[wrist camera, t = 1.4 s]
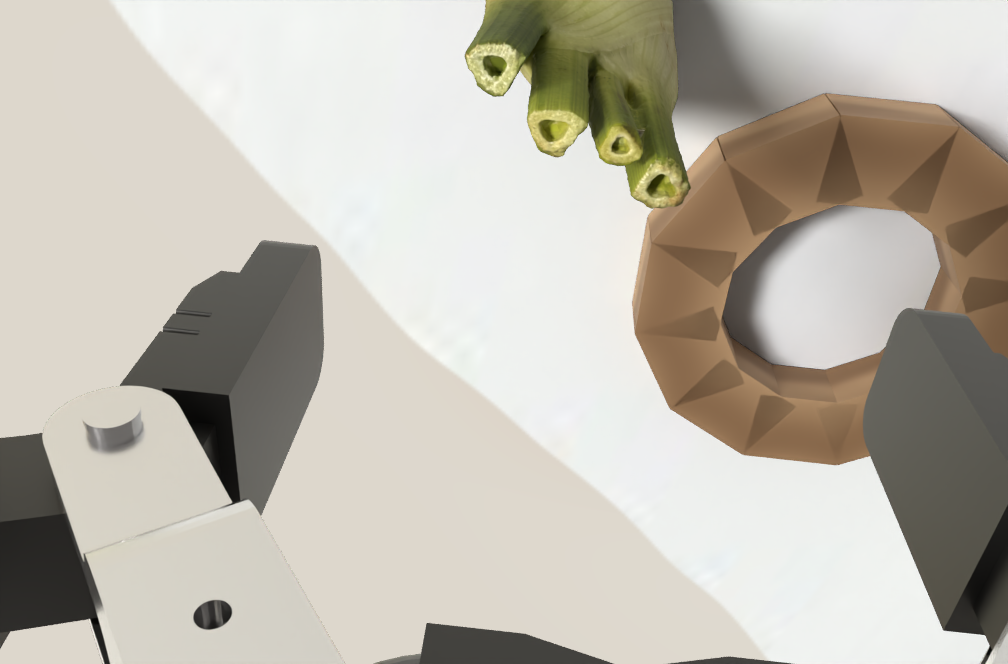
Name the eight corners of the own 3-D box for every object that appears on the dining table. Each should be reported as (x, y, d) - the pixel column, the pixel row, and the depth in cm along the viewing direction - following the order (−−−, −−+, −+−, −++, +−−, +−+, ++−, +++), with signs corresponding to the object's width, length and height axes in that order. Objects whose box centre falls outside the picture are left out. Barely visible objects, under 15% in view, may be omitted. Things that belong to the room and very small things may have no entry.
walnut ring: (1090, 119, 30) (1124, 143, 28) (947, 444, 38) (966, 479, 36) (672, 77, 30) (678, 98, 29) (613, 407, 38) (614, 440, 36)
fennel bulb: (483, -38, 29) (427, 68, 19) (622, -119, 27) (644, -51, 17) (564, 117, 31) (554, 285, 21) (697, 52, 30) (753, 198, 20)
